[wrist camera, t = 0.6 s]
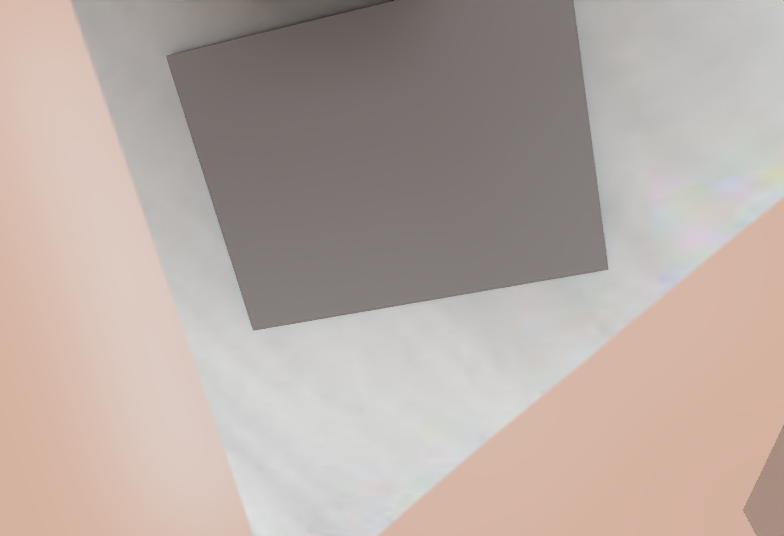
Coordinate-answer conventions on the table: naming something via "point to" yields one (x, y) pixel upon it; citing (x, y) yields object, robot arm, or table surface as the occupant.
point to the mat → (397, 155)
